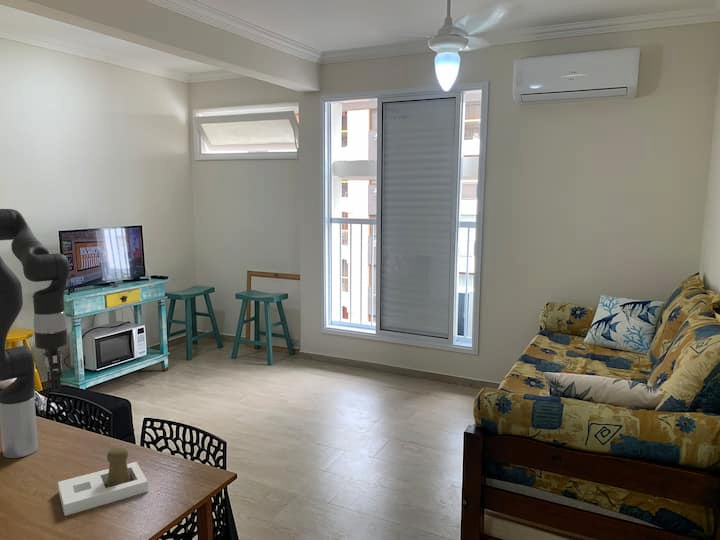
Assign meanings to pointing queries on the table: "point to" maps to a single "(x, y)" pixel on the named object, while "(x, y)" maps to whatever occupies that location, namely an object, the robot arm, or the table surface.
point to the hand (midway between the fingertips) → (54, 386)
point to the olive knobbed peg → (117, 467)
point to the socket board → (98, 489)
